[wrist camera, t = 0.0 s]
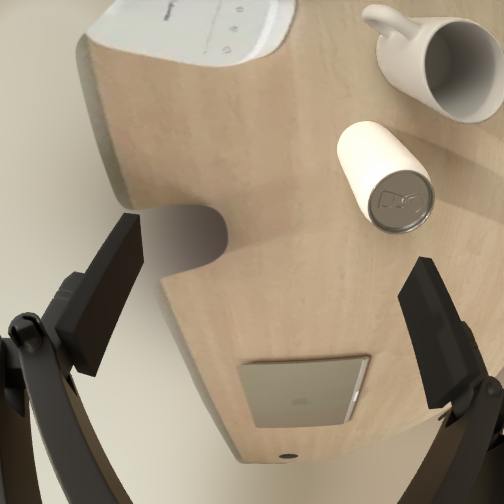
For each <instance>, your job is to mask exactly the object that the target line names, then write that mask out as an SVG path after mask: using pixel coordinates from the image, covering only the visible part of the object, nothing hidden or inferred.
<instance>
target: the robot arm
mask: <svg viewBox="0 0 504 504" xmlns="http://www.w3.org/2000/svg"><path fill="white" fill-rule="evenodd" d="M143 263H144V257H143V247H142V238H141V226H140V215H138V214H130V213H124V214H123V215H122V217H121V218H120V220H119V221H118V222H117V224H116V225H115V227H114V229H113V230H112V231H111V233H110V234H109V236H108V238H107V239H106V240H105V242H104V243H103V245H102V247H101V248H100V250H99V251H98V253H97V254H96V256H95V257H94V259H93V261H92V262H91V264H90V266H89V267H88V269H87V270H86V272H85V274H84V273H79V272H73V273H72V274H71V275H69V276H68V277H67V278H66V279H65V280H64V281H63V283H62V284H61V286H60V288H59V291H57V292H56V294H55V296H54V299H52V301H51V302H50V304H49V306H48V307H47V309H46V311H45V313H44V314H43V316H42V318H41V320H40V318H39V316H37V315H36V314H35V313H30V312H26V313H22V314H20V315H18V316H16V317H15V318H14V319H13V321H11V324H10V326H9V329H8V334H9V336H10V337H11V338H2V337H1V336H0V504H42V500H41V495H40V490H39V485H38V480H37V474H36V467H35V461H34V453H33V446H32V437H31V436H32V435H31V425H30V410H29V400H30V403H31V407H32V410H33V414H34V417H35V420H36V423H37V426H38V429H39V432H40V435H41V438H42V441H43V444H44V446H45V449H46V452H47V454H48V457H49V460H50V462H51V465H52V467H53V469H54V472H55V474H56V477H57V479H58V481H59V483H60V485H61V488H62V490H63V492H64V494H65V496H66V498H67V500H68V502H69V504H133V502H132V501H131V500H130V497H129V496H128V494H127V493H126V491H125V489H124V487H123V486H122V484H121V482H120V481H119V479H118V477H117V475H116V473H115V471H114V470H113V468H112V466H111V464H110V462H109V460H108V458H107V456H106V454H105V453H104V450H103V448H102V446H101V444H100V442H99V440H98V438H97V436H96V434H95V431H94V429H93V427H92V425H91V423H90V420H89V418H88V416H87V413H86V411H85V409H84V407H83V404H82V401H81V399H80V396H79V394H78V391H77V389H76V386H75V383H74V381H73V378H72V375H71V374H70V371H71V369H72V366H73V365H74V366H75V368H76V370H77V372H79V373H83V374H86V375H89V376H92V377H95V376H96V374H97V371H98V368H99V366H100V363H101V360H102V358H103V355H104V353H105V350H106V347H107V345H108V343H109V340H110V338H111V335H112V333H113V330H114V328H115V326H116V323H117V321H118V319H119V316H120V314H121V312H122V309H123V307H124V305H125V302H126V300H127V298H128V296H129V293H130V291H131V289H132V287H133V285H134V282H135V280H136V278H137V276H138V274H139V272H140V269H141V267H142V265H143ZM397 297H398V300H399V303H400V306H401V309H402V312H403V315H404V318H405V321H406V325H407V328H408V331H409V334H410V338H411V341H412V345H413V348H414V352H415V355H416V359H417V363H418V367H419V370H420V374H421V378H422V382H423V386H424V390H425V395H426V399H427V403H428V408H429V409H436V408H443V407H444V406H445V405H446V404H448V403H449V402H450V401H451V404H452V407H451V408H450V409H449V410H448V411H446V412H445V413H444V414H443V415H441V416H440V417H439V419H438V420H439V421H440V420H441V419H442V418H444V417H445V418H444V421H443V422H442V425H441V427H440V429H439V431H438V433H437V435H436V437H435V440H434V441H433V444H432V445H431V447H430V449H429V451H428V453H427V455H426V457H425V458H424V460H423V462H422V464H421V466H420V467H419V469H418V471H417V473H416V474H415V476H414V478H413V479H412V481H411V483H410V484H409V486H408V487H407V489H406V491H405V492H404V494H403V495H402V497H401V499H400V500H399V501H398V503H397V504H504V435H503V429H504V389H503V388H502V385H501V384H500V382H499V381H498V380H497V379H496V378H494V377H492V376H489V375H488V372H487V369H486V367H485V364H484V361H483V358H482V356H481V353H480V351H479V349H478V346H477V343H476V341H475V338H474V336H473V333H472V331H471V329H470V328H469V327H468V325H467V324H466V323H465V321H461V320H460V317H459V315H458V313H457V311H456V308H455V306H454V304H453V302H452V299H451V297H450V295H449V293H448V291H447V289H446V287H445V284H444V282H443V280H442V278H441V276H440V274H439V272H438V270H437V268H436V266H435V264H434V262H433V260H432V259H431V258H426V257H420V256H419V258H418V260H417V262H416V264H415V266H414V267H413V269H412V271H411V273H410V275H409V277H408V279H407V280H406V282H405V284H404V286H403V288H402V289H401V291H400V293H399V295H398V296H397Z"/></svg>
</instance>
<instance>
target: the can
mask: <svg viewBox="0 0 504 504" xmlns="http://www.w3.org/2000/svg"><path fill="white" fill-rule="evenodd" d="M337 153H338V158H339V161H340V163H341V166H342V168H343V170H344V173H345V175H346V177H347V179H348V182H349V184H350V186H351V188H352V191H353V193H354V195H355V198H356V200H357V202H358V205H359V207H360V209H361V211H362V212H363V214H364V215H365V217H366V218H367V219H368V220H369V221H371V222H372V223H373V224H374V225H375V226H376V227H377V228H378V229H379V230H381V231H383V232H385V233H388V234H404V233H408V232H411V231H413V230H415V229H416V228H418V227H419V226H421V225H422V224H423V223H424V222H425V221H426V220H427V218H428V217H429V215H430V213H431V211H432V209H433V206H434V200H435V195H434V190H433V187H432V185H431V180H430V177H429V175H428V173H427V171H426V170H425V168H424V167H423V166H422V165H421V163H420V162H419V161H418V160H417V159H416V158H415V157H414V156H413V155H412V154H411V153H410V152H409V151H408V149H407V148H406V147H405V146H404V145H403V144H402V143H401V142H400V141H399V140H398V139H397V138H396V137H395V136H393V135H392V134H391V133H390V132H389V131H388V130H387V129H386V128H385V127H383V126H382V125H380V124H378V123H375V122H371V121H363V122H358V123H355V124H353V125H351V126H350V127H348V128H347V129H346V130H345V131H344V132H343V134H342V135H341V137H340V139H339V142H338V146H337Z"/></svg>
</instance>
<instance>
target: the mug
mask: <svg viewBox="0 0 504 504" xmlns="http://www.w3.org/2000/svg"><path fill="white" fill-rule="evenodd" d="M362 19H363V21H364V22H365V23H366V24H367V25H369V26H370V27H372V28H373V29H375V30H376V31H378V32H379V33H381V34H380V36H379V39H378V41H377V47H376V55H377V61H378V65H379V67H380V70H381V72H382V73H383V75H384V77H385V78H386V79H387V81H388V82H389V83H390V84H391V85H392V86H394V87H395V88H396V89H398V90H399V91H401V92H403V93H405V94H407V95H409V96H411V97H413V98H415V99H417V100H418V101H420V102H422V103H424V104H425V105H427V106H429V107H431V108H432V109H434V110H436V111H437V112H439V113H441V114H442V115H444V116H446V117H447V118H449V119H451V120H453V121H456V122H459V123H463V124H477V123H481V122H484V121H486V120H488V119H489V118H491V117H492V116H493V115H495V114H496V112H497V111H498V110H499V109H500V107H501V106H502V104H503V102H504V52H503V50H502V48H501V46H500V44H499V43H498V41H497V40H496V38H495V37H494V36H493V35H492V34H491V33H490V32H489V31H488V30H487V29H486V28H484V27H483V26H482V25H480V24H478V23H476V22H474V21H472V20H469V19H465V18H457V17H422V18H408V17H406V16H405V15H403V14H402V13H400V12H399V11H397V10H395V9H393V8H391V7H388V6H385V5H380V4H374V5H369V6H368V7H366V8H365V9H364V11H363V12H362Z"/></svg>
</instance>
